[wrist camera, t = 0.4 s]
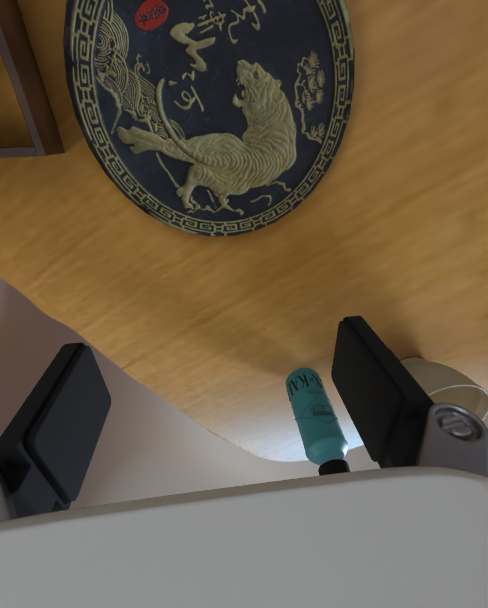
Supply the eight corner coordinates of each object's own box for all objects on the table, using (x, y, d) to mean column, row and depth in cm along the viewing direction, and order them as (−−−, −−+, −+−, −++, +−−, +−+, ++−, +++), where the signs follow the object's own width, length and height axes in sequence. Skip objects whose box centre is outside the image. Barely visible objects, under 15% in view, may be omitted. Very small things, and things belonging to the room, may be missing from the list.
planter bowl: (461, 363, 58) (508, 407, 49) (398, 410, 64) (430, 458, 55) (414, 328, 52) (459, 371, 43) (350, 384, 58) (377, 432, 49)
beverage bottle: (316, 382, 57) (362, 491, 40) (283, 389, 57) (315, 500, 40) (316, 358, 53) (366, 465, 36) (280, 364, 53) (314, 475, 36)
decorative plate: (-19, -53, 23) (341, -208, 21) (-4, -41, 25) (332, -185, 23) (150, 267, 39) (367, 195, 37) (152, 261, 41) (360, 193, 39)
